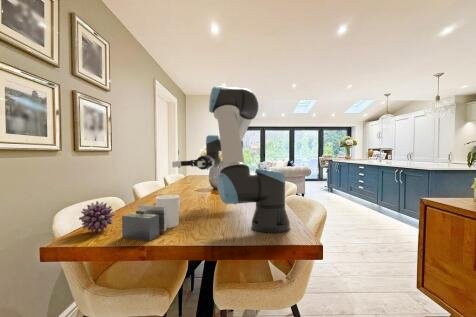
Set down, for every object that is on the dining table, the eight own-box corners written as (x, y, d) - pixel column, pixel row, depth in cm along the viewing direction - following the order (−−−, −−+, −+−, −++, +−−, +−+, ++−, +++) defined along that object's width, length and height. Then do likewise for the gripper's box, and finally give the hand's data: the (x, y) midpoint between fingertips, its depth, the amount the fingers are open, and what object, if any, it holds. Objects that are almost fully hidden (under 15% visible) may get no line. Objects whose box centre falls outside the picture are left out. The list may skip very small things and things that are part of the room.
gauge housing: (159, 236, 87) (158, 214, 87) (149, 241, 82) (149, 217, 82) (132, 233, 91) (132, 212, 91) (122, 237, 86) (121, 215, 86)
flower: (116, 233, 91) (115, 202, 91) (78, 239, 85) (77, 205, 84) (114, 225, 101) (113, 197, 101) (80, 230, 95) (79, 200, 94)
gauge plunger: (166, 230, 91) (165, 206, 91) (153, 236, 84) (153, 210, 84) (140, 227, 95) (140, 204, 95) (126, 233, 88) (125, 208, 88)
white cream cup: (174, 229, 95) (174, 199, 95) (151, 228, 97) (151, 198, 97) (184, 222, 105) (183, 194, 105) (163, 221, 107) (162, 194, 106)
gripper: (226, 169, 131) (209, 172, 111) (185, 169, 139) (163, 172, 119) (225, 155, 131) (209, 156, 110) (185, 156, 139) (162, 156, 118)
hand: (185, 164), depth 114 cm, fingers open, 13 cm apart
